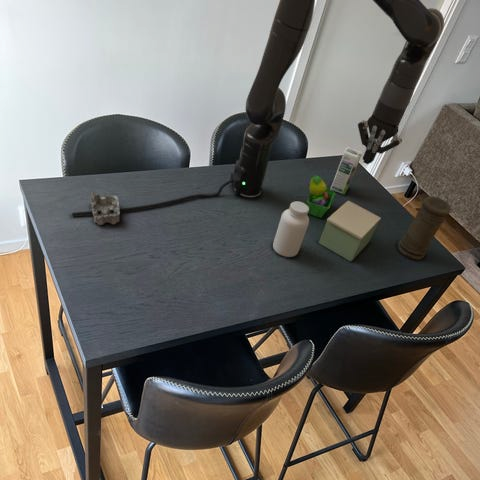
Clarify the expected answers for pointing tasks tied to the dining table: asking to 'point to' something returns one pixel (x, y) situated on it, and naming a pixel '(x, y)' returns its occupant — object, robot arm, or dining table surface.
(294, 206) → the pill bottle
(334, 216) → the lid
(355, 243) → the caddy
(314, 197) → the fruit basket
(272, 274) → the dining table surface
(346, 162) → the syrup box
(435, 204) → the container
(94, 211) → the egg carton
